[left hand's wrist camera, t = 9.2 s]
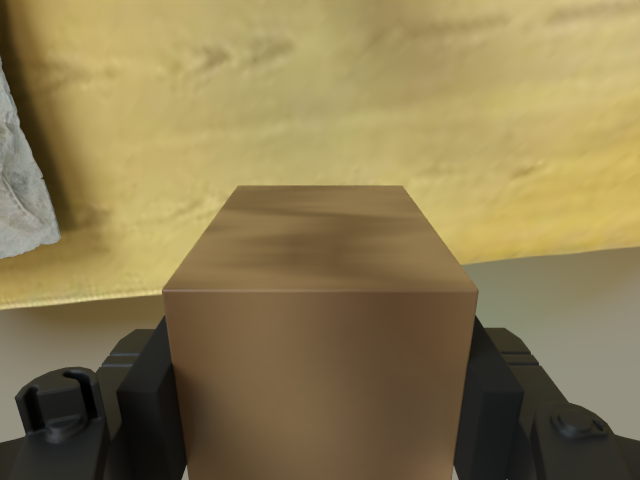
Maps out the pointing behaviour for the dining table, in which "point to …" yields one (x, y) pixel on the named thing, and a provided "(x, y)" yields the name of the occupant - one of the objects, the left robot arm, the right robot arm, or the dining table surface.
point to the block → (320, 338)
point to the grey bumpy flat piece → (21, 187)
